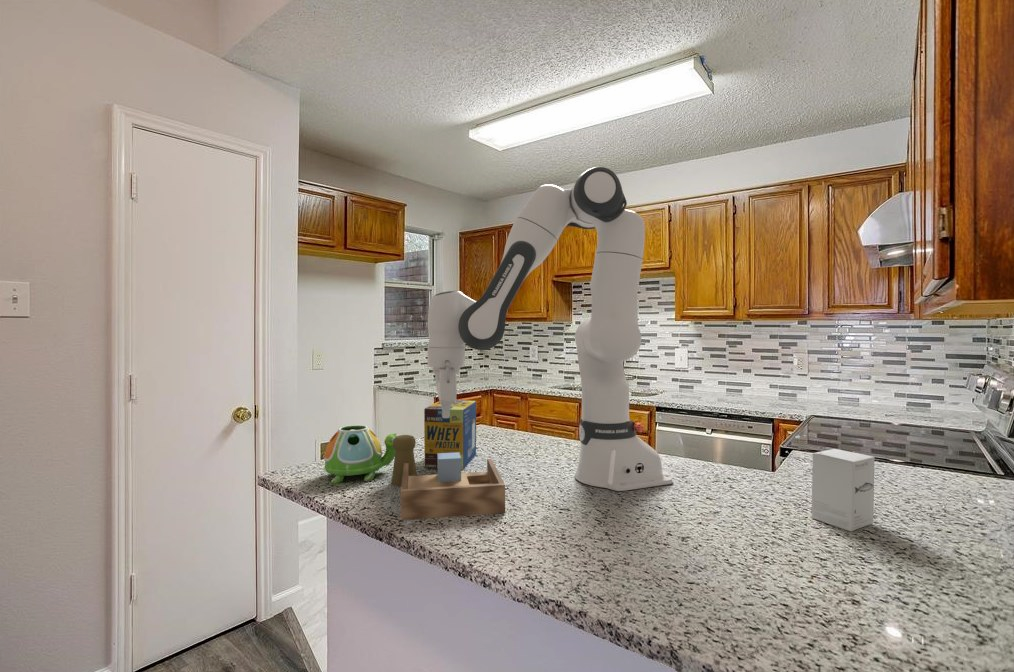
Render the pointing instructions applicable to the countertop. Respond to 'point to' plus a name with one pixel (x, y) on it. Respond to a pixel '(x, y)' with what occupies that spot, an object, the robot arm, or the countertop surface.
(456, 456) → the slate block
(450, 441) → the protein box
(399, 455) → the cork
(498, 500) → the tray
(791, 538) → the countertop surface
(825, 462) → the supplement box
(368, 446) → the turtle holder
